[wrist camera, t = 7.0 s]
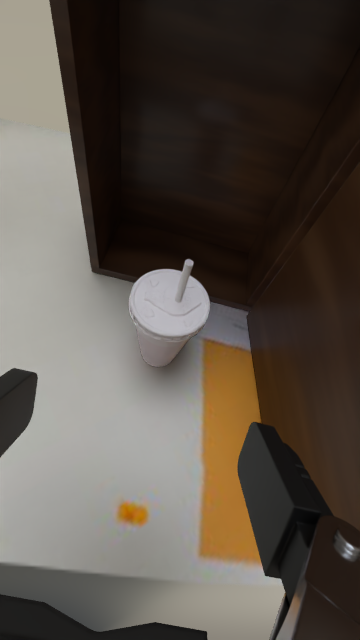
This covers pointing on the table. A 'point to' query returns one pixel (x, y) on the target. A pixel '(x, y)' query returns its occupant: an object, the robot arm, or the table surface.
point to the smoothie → (167, 312)
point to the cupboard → (208, 131)
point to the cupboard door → (317, 352)
